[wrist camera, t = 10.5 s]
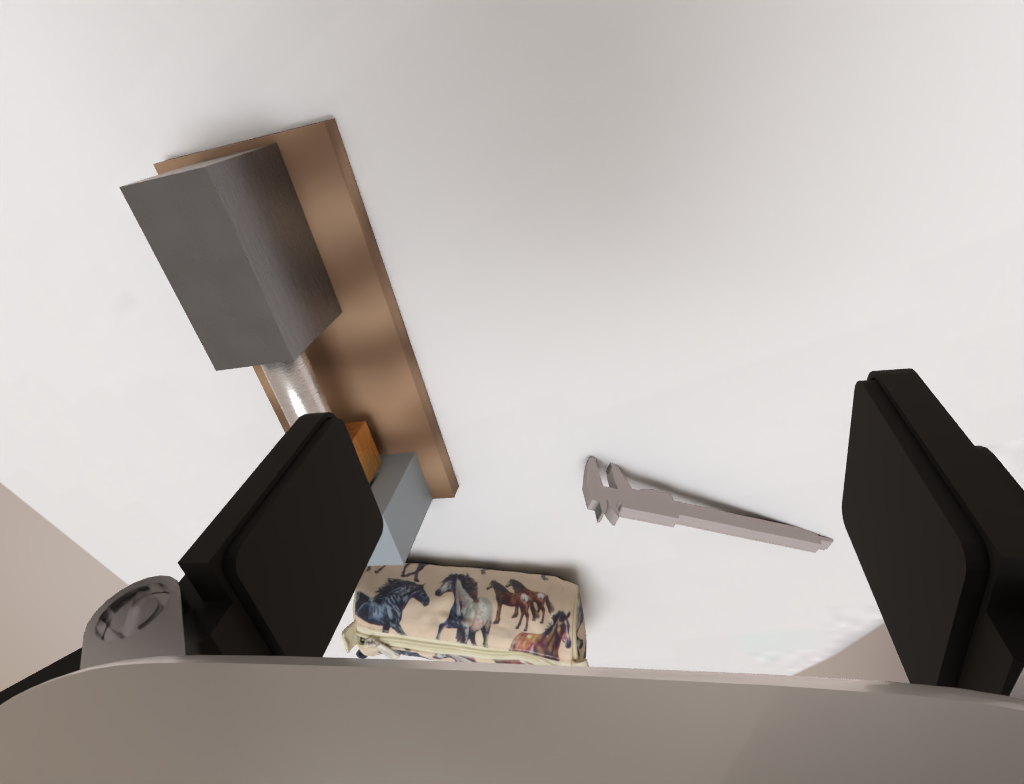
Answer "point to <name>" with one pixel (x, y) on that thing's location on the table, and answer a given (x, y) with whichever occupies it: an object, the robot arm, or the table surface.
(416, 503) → the socket
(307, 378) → the tube
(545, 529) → the table surface
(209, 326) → the sleeve
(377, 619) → the pencil case
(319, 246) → the board
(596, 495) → the caliper
